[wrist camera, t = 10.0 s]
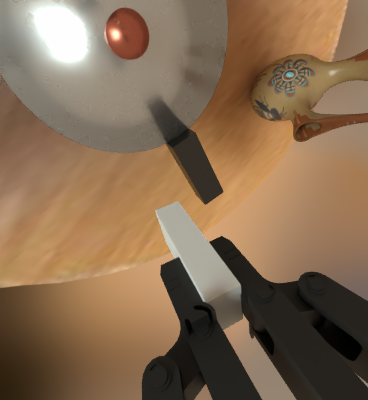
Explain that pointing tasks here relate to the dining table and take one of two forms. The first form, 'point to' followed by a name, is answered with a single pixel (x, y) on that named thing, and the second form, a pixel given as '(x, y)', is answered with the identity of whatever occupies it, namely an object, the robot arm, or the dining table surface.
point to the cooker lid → (119, 72)
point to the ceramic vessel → (305, 92)
